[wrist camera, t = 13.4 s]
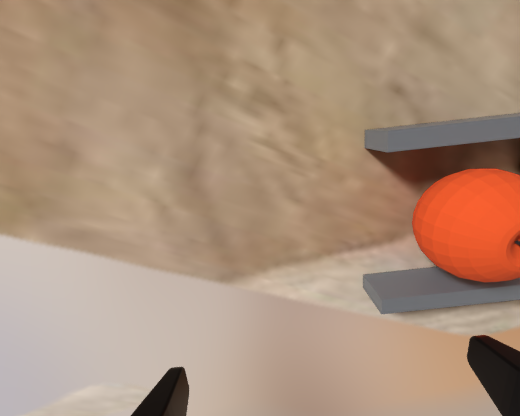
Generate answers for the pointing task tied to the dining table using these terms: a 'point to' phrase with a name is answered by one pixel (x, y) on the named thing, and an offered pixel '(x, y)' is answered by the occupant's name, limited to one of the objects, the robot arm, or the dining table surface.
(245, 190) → the dining table surface
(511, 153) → the dining table surface
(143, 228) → the dining table surface
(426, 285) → the grey shallow tray
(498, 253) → the clementine
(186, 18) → the dining table surface
